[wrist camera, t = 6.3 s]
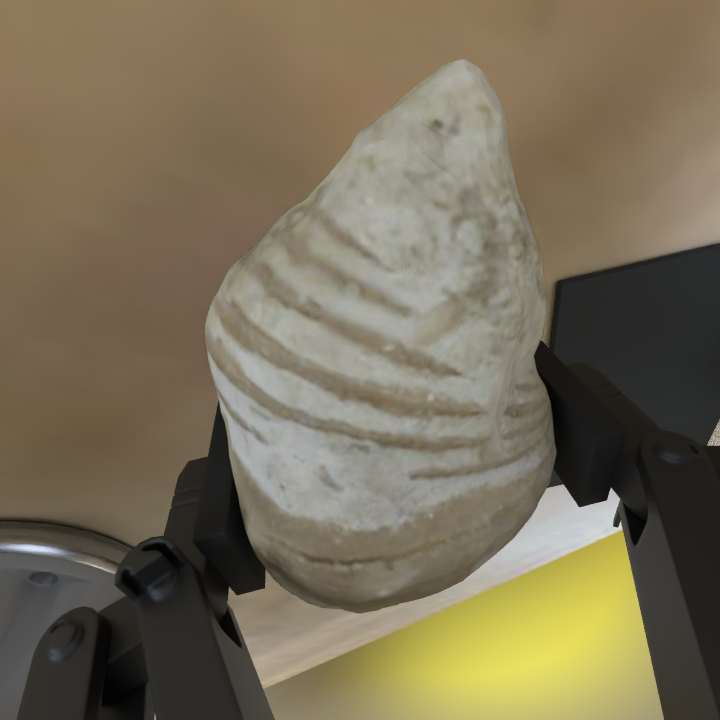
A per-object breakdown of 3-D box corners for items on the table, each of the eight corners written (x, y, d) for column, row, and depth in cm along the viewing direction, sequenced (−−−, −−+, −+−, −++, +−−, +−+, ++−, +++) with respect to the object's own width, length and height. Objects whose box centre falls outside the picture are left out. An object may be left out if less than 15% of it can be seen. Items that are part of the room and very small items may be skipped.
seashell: (579, 554, 15) (530, 901, 7) (367, 505, 20) (194, 673, 12) (573, 147, 13) (487, -53, 5) (333, 206, 18) (85, 162, 10)
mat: (533, 486, 28) (535, 491, 28) (557, 281, 19) (562, 284, 19) (699, 446, 28) (704, 451, 28) (807, 222, 19) (816, 224, 19)
